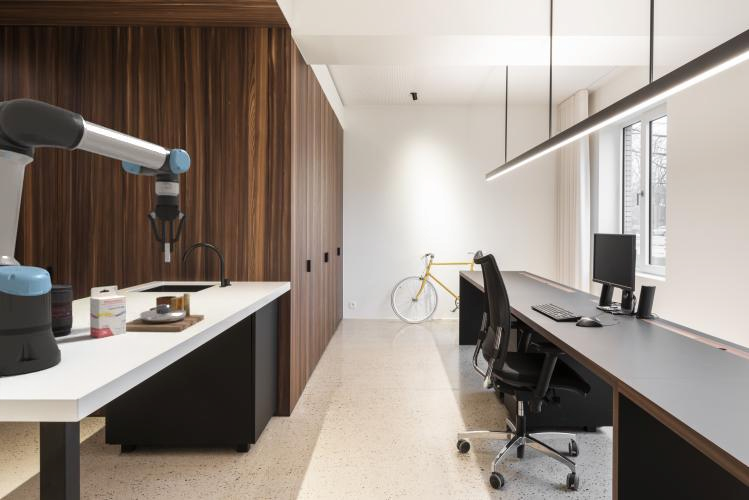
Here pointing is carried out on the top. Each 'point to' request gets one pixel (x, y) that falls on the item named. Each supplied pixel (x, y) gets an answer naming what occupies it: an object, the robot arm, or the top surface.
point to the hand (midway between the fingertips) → (167, 261)
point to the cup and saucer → (163, 301)
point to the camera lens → (61, 309)
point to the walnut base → (167, 326)
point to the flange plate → (163, 316)
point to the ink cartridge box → (107, 312)
